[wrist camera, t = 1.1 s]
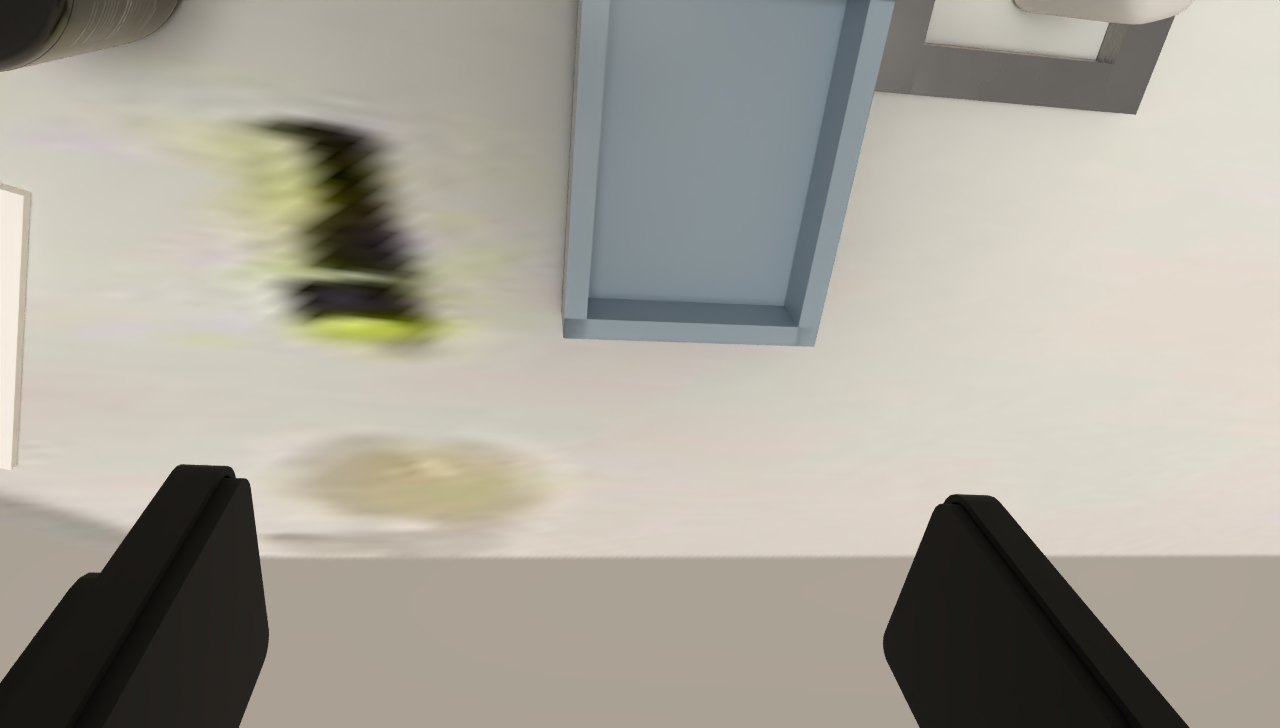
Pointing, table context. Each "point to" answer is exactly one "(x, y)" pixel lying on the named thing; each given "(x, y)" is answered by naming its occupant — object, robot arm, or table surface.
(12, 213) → the photo frame
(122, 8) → the supplement bottle
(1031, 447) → the table surface
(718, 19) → the tray
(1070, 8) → the eye dropper bottle
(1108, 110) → the gray square frame
